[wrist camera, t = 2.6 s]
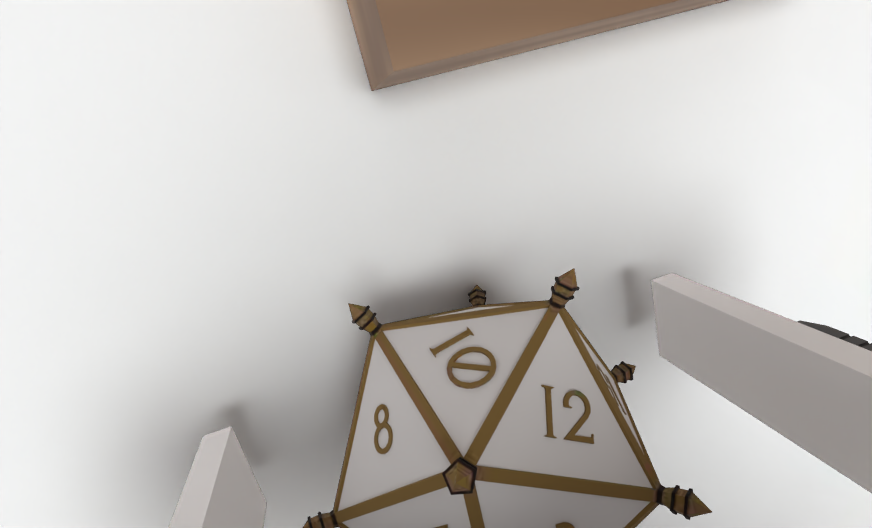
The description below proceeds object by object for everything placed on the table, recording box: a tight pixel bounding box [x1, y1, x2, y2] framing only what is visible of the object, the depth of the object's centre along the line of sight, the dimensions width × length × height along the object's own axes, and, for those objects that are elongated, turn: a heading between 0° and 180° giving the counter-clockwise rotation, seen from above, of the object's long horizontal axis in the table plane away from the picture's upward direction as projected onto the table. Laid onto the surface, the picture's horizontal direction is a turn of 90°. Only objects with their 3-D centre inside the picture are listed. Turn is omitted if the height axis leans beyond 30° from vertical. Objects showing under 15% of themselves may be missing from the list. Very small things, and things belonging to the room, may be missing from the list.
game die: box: [303, 269, 712, 528], centre depth 12 cm, size 9×8×10 cm
